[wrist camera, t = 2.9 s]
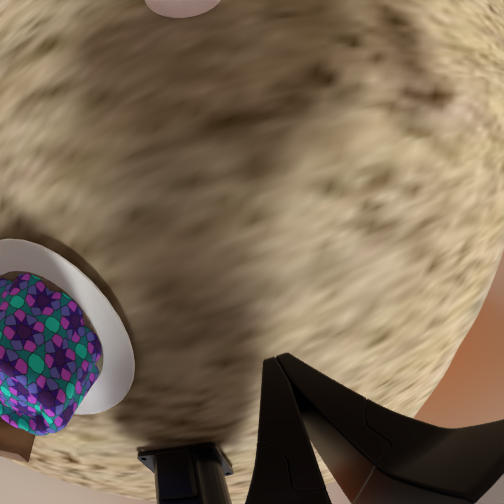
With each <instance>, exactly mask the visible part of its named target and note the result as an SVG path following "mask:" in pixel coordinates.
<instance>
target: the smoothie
mask: <svg viewBox="0 0 504 504" xmlns="http://www.w3.org/2000/svg"><path fill="white" fill-rule="evenodd" d="M144 1H145V3H146V5H147V6H148V7H149V8H150V9H151V10H152V11H153V12H155V13H157V14H159V15H162V16H165V17H170V18H187V17H193V16H197V15H200V14H203V13H205V12H207V11H209V10H211V9H212V8H214V7H215V6H216V5H217V4H218V3H219V2H220V1H221V0H144Z"/></svg>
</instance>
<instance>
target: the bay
mask: <svg viewBox="0 0 504 504" xmlns="http://www.w3.org/2000/svg"><path fill="white" fill-rule="evenodd" d="M34 439H35V435H34V434H31V433H29V432H28V431H26V430H24V429H21V428H16V427H14V426H12V425H10V424H9V423H7V422H6V421H3V420H0V456H2V457H6V458H10V459H14V460H18V461H23V462H29V458H30V454H31V450H32V446H33V442H34Z"/></svg>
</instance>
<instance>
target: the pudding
mask: <svg viewBox="0 0 504 504" xmlns="http://www.w3.org/2000/svg"><path fill="white" fill-rule="evenodd" d="M13 271H24V272H30V273H33V274H36V275H39V276H41V277H43V278H45V279H47V280H49V281H51V282H53V283H54V284H55V285H57V286H58V287H60V288H61V289H63V290H64V291H65V292H66V293H67V294H68V295H69V296H70V297H72V298H73V299H74V300H75V301H76V302H77V304H78V305H79V306H80V307H81V308H82V309H83V310H84V312H85V313H86V315H87V316H88V318H89V319H90V320H91V322H92V324H93V325H94V327H95V329H96V331H97V333H98V336H99V338H100V341H101V344H102V349H103V354H104V362H103V368H102V372H101V374H100V376H99V378H98V379H97V377H98V374H99V370H98V368H97V366H96V364H95V363H96V362H97V360H98V359H99V358H100V356H101V355H102V354H101V344H100V342H99V340H98V337H97V335H96V334H95V333H94V332H92V331H91V330H90V329H88V328H87V327H86V326H84V324H83V315H82V311H81V310H80V308H79V307H78V306H77V304H76V303H75V302H74V300H72V299H71V298H70V297H68V296H67V295H66V294H64V293H63V292H55V291H49V290H48V288H47V287H46V286H45V284H44V283H43V282H42V280H41V279H40V278H38V277H36V276H34V275H32V274H19V275H18V276H17V278H16V279H15V280H14V282H12V281H9V280H7V279H5V278H1V279H0V417H1V418H2V419H3V420H4V421H6V422H7V423H9V424H10V425H12V426H14V427H16V428H21V429H24V430H26V431H28V432H29V433H31V434H34V435H38V436H39V435H47V434H49V433H56V432H58V431H60V430H61V429H63V428H64V427H65V426H66V425H67V424H68V422H69V420H70V419H71V417H72V416H73V414H94V413H98V412H102V411H105V410H107V409H109V408H112V407H114V406H115V405H116V404H118V403H119V402H120V401H121V400H123V399H124V397H125V396H126V394H127V393H128V392H129V390H130V388H131V385H132V382H133V380H134V371H135V362H134V353H133V349H132V346H131V342H130V339H129V336H128V333H127V331H126V329H125V327H124V325H123V323H122V321H121V319H120V317H119V316H118V314H117V313H116V311H115V310H114V308H113V307H112V305H111V304H110V302H109V301H108V299H107V298H106V297H105V296H104V295H103V294H102V292H101V291H100V290H99V289H98V288H97V287H96V285H95V284H94V283H93V282H92V281H91V280H90V279H89V278H88V277H87V276H86V275H84V274H83V273H82V272H81V271H80V270H79V269H78V268H77V267H76V266H74V265H73V264H71V263H70V262H69V261H67V260H66V259H64V258H63V257H62V256H60V255H59V254H57V253H55V252H53V251H51V250H49V249H47V248H45V247H43V246H42V245H39V244H36V243H33V242H29V241H26V240H21V239H3V240H0V276H1V275H3V274H5V273H8V272H13Z"/></svg>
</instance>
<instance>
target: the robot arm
mask: <svg viewBox="0 0 504 504" xmlns="http://www.w3.org/2000/svg"><path fill="white" fill-rule="evenodd" d="M310 440H311V442H312V443H313V445H314V447H315V448H316V450H317V452H318V453H319V455H320V456H321V458H322V459H323V461H324V463H325V464H326V466H327V467H328V469H329V470H330V472H331V474H332V475H333V477H334V478H335V480H336V481H337V483H338V484H339V486H340V487H341V489H342V490H343V492H344V493H345V495H346V496H347V498H348V499H349V501H350V502H351V504H504V419H503V420H499V421H495V422H490V423H486V424H480V425H476V426H469V427H463V428H443V427H438V426H435V425H431V424H428V423H425V422H422V421H419V420H416V419H413V418H410V417H407V416H404V415H402V414H399V413H396V412H394V411H391V410H389V409H387V408H385V407H383V406H381V405H379V404H377V403H375V402H373V401H371V400H369V399H367V400H366V398H365V397H363V396H362V395H360V394H358V393H356V392H354V391H352V390H351V389H349V388H347V387H345V386H344V385H342V384H340V383H338V382H336V381H335V380H333V379H331V378H330V377H328V376H326V375H324V374H323V373H321V372H319V371H318V370H316V369H314V368H313V367H311V366H309V365H308V364H306V363H304V362H303V361H301V360H299V359H298V358H296V357H294V356H293V355H291V354H290V353H283V354H280V355H277V356H276V358H275V357H271V358H268V359H265V360H264V361H263V370H262V385H261V399H260V413H259V426H258V439H257V441H258V443H257V450H256V458H255V466H254V471H253V476H252V480H251V484H250V488H249V492H248V495H247V499H246V502H245V504H332V503H331V500H330V498H329V495H328V493H327V490H326V486H325V484H324V481H323V478H322V475H321V472H320V469H319V466H318V463H317V460H316V457H315V454H314V451H313V448H312V445H311V442H310ZM138 460H139V461H141V462H142V463H143V464H144V465H145V466H146V467H147V468H149V469H150V470H151V471H152V472H153V473H155V487H156V499H157V504H232V502H231V499H230V495H229V491H228V487H227V483H226V479H225V476H229V475H232V474H233V469H232V468H231V466H230V465H229V464H228V462H227V461H226V459H225V458H224V456H223V455H222V453H221V452H220V450H219V449H218V447H217V446H216V444H214V443H204V444H199V445H193V446H188V447H181V448H175V449H167V450H159V451H150V452H140V453H138Z"/></svg>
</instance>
